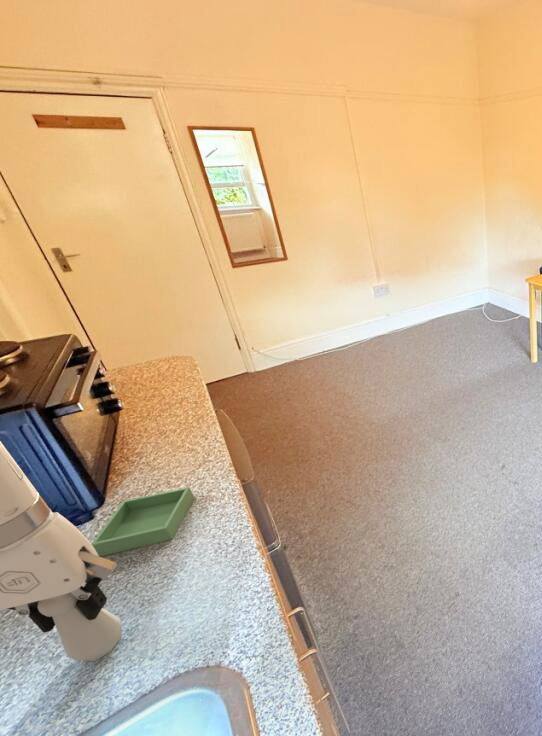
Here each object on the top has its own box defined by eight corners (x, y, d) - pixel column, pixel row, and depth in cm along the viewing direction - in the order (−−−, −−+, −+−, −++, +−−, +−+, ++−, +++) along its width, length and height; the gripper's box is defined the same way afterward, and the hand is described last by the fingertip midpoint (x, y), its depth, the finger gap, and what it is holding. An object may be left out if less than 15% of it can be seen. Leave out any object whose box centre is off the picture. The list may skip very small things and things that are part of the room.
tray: (97, 557, 73) (89, 545, 72) (129, 511, 83) (123, 500, 81) (172, 539, 76) (166, 528, 75) (194, 497, 86) (189, 486, 84)
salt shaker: (89, 634, 61) (43, 579, 55) (134, 620, 62) (95, 565, 57) (66, 675, 56) (13, 620, 50) (116, 658, 58) (71, 603, 52)
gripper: (-127, 572, 42) (-24, 666, 50) (67, 529, 47) (135, 622, 55) (-62, 518, 49) (21, 609, 57) (104, 485, 53) (160, 574, 61)
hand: (76, 614), depth 56 cm, fingers closed on salt shaker, 4 cm apart
